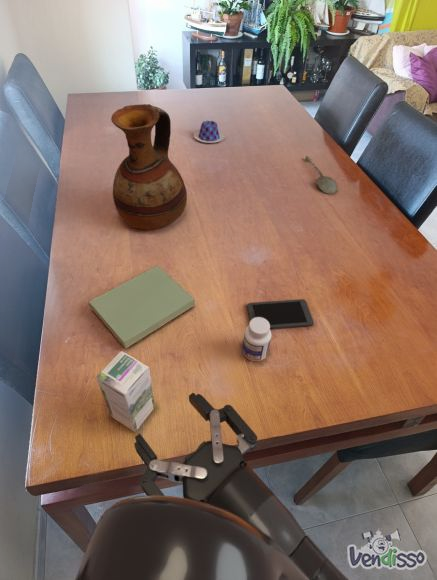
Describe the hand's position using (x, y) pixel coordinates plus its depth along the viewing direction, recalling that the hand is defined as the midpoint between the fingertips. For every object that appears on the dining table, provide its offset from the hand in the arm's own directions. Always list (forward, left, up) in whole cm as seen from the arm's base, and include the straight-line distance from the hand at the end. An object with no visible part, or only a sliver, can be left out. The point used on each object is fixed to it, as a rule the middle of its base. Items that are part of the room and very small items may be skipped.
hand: (165, 416), depth 49 cm
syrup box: (0, +11, -17) cm, 21 cm away
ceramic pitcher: (+37, +58, -17) cm, 71 cm away
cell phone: (+37, +9, -17) cm, 42 cm away
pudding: (+82, +85, -17) cm, 119 cm away
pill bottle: (+26, +6, -17) cm, 32 cm away
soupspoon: (+93, +41, -17) cm, 103 cm away
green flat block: (+15, +30, -17) cm, 38 cm away
